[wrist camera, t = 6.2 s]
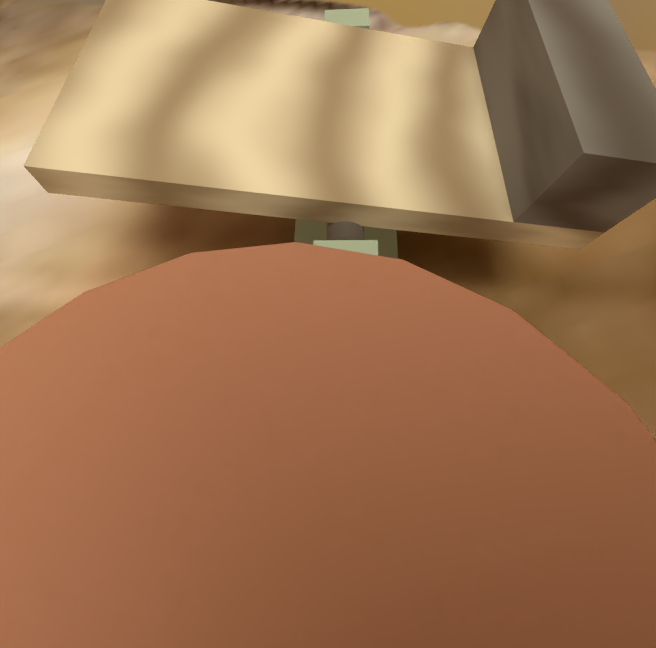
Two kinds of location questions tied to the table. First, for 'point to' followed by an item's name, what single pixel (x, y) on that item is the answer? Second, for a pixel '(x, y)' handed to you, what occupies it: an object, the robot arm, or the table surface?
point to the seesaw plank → (361, 120)
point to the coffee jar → (315, 467)
